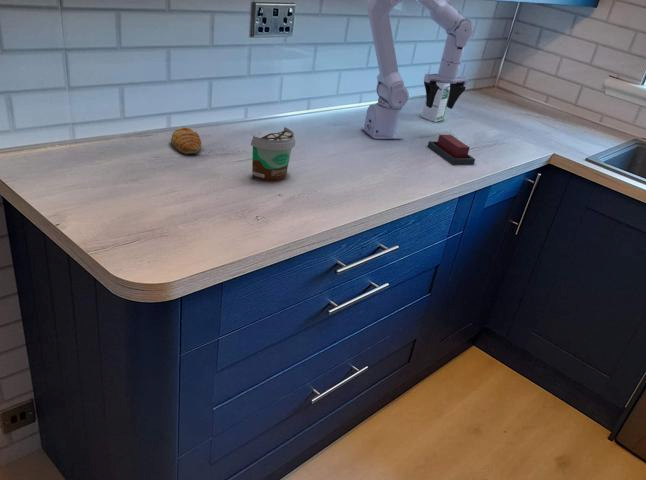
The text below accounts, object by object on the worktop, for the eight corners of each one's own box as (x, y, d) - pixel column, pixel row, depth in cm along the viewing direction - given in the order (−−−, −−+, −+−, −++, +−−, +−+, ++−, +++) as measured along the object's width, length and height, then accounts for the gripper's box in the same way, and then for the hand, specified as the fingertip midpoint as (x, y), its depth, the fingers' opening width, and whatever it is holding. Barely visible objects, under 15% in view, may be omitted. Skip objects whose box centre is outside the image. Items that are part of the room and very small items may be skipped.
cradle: (452, 164, 167) (454, 159, 167) (427, 146, 177) (428, 141, 176) (473, 164, 171) (475, 159, 170) (448, 146, 181) (449, 141, 180)
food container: (269, 188, 132) (273, 145, 127) (247, 179, 135) (251, 136, 129) (301, 175, 142) (307, 134, 136) (281, 166, 144) (285, 126, 138)
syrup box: (435, 122, 200) (446, 78, 192) (420, 117, 202) (431, 73, 194) (443, 120, 204) (454, 77, 196) (428, 114, 206) (439, 71, 198)
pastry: (206, 156, 141) (206, 140, 139) (177, 156, 138) (177, 140, 136) (196, 141, 148) (197, 126, 146) (168, 141, 145) (168, 126, 143)
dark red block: (454, 160, 169) (458, 147, 167) (436, 147, 176) (439, 134, 174) (465, 160, 171) (469, 147, 169) (446, 147, 178) (450, 134, 176)
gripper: (437, 63, 167) (426, 110, 175) (478, 66, 174) (465, 112, 181) (425, 56, 173) (414, 103, 180) (465, 59, 179) (453, 105, 186)
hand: (439, 107), depth 181 cm, fingers open, 7 cm apart
